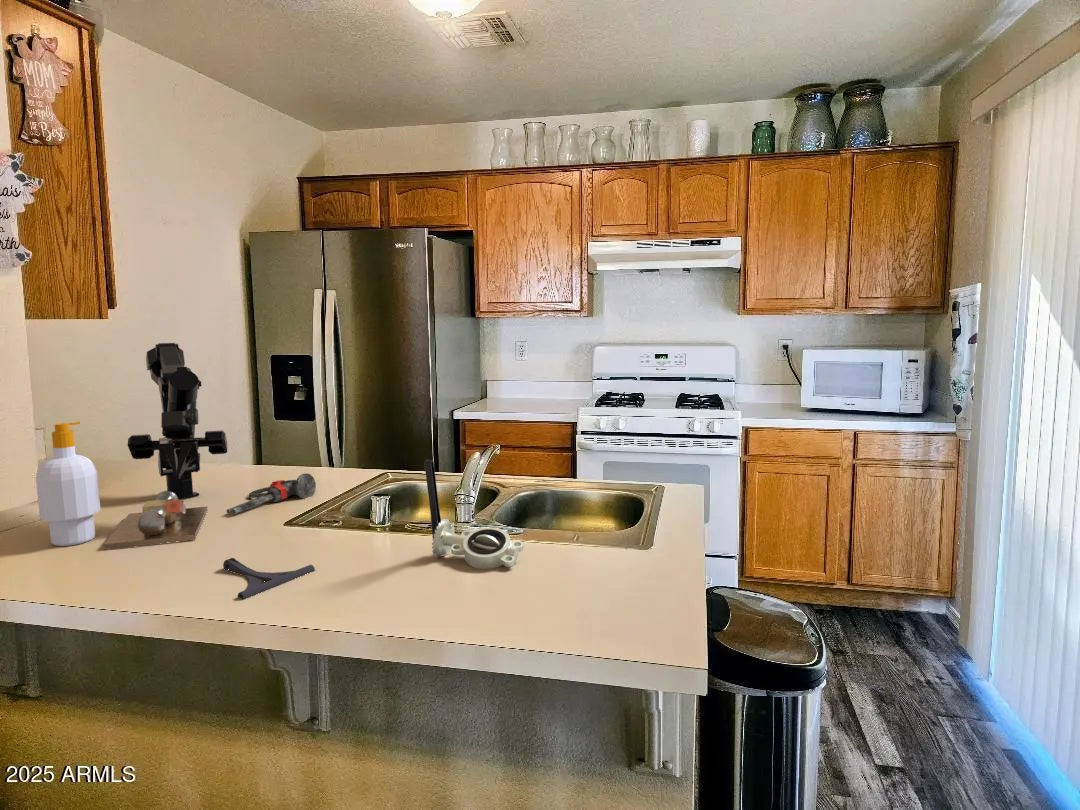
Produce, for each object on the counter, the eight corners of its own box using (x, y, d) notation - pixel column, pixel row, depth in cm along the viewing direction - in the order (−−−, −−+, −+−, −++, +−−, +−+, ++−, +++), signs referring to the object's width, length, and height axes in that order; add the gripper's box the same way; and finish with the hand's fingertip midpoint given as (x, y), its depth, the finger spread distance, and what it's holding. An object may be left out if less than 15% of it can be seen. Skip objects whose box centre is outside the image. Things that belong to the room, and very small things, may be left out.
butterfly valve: (528, 553, 130) (446, 536, 135) (523, 463, 121) (436, 448, 126) (510, 583, 123) (424, 563, 128) (504, 489, 114) (412, 472, 119)
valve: (284, 493, 184) (328, 490, 178) (203, 525, 161) (250, 523, 155) (279, 470, 183) (323, 467, 177) (197, 499, 160) (244, 496, 154)
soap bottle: (110, 540, 140) (98, 423, 137) (49, 553, 133) (36, 430, 130) (95, 529, 147) (84, 418, 144) (37, 541, 140) (24, 424, 137)
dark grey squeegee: (261, 559, 131) (260, 545, 130) (315, 574, 123) (314, 559, 123) (189, 586, 118) (187, 570, 118) (244, 604, 111) (243, 587, 110)
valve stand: (129, 518, 155) (127, 492, 154) (207, 511, 160) (205, 485, 160) (104, 550, 135) (101, 519, 134) (195, 540, 140) (192, 510, 139)
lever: (176, 504, 149) (166, 500, 138) (188, 503, 150) (179, 499, 139) (176, 515, 149) (166, 512, 138) (189, 514, 150) (180, 511, 139)
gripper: (125, 397, 145) (117, 460, 136) (222, 394, 151) (220, 454, 142) (136, 428, 153) (129, 489, 145) (228, 423, 159) (226, 481, 151)
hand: (176, 477), depth 145 cm, fingers closed
